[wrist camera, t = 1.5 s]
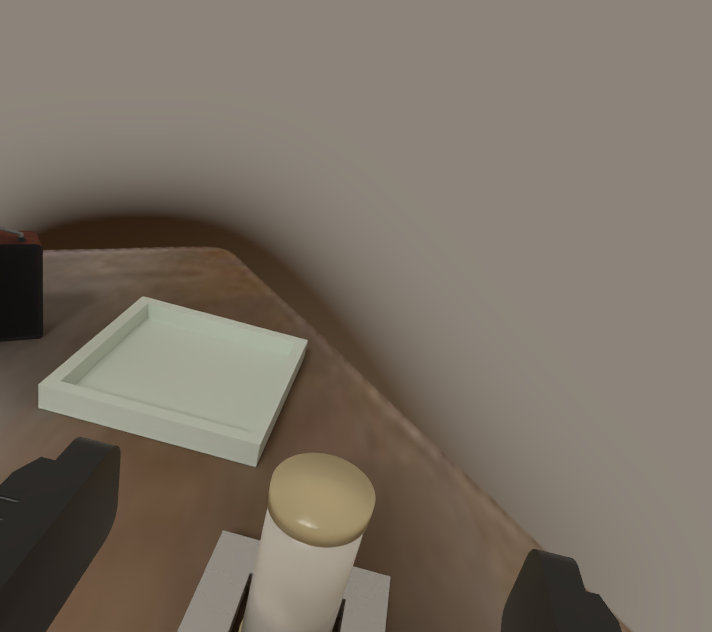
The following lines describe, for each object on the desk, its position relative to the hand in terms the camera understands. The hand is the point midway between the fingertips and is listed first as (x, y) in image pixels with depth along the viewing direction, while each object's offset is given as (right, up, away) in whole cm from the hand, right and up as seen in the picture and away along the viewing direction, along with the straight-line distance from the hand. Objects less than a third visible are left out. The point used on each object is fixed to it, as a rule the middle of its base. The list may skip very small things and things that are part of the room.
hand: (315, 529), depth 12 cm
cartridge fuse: (-3, -13, +19) cm, 23 cm away
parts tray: (-13, -1, +38) cm, 40 cm away
